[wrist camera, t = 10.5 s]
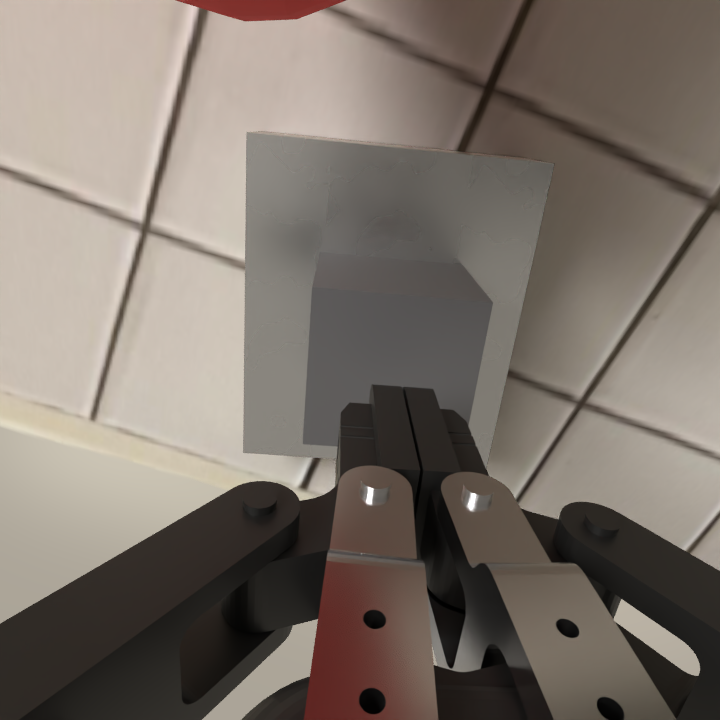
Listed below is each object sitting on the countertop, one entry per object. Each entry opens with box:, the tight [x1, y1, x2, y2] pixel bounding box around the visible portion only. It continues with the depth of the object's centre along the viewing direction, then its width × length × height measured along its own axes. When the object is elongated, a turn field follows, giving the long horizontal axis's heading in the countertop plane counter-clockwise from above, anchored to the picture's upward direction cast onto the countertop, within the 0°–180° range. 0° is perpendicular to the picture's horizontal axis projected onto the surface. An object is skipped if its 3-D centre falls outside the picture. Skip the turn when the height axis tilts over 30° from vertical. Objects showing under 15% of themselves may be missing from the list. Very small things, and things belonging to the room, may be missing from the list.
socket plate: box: [243, 131, 554, 468], centre depth 21 cm, size 10×12×4 cm
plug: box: [303, 252, 493, 447], centre depth 19 cm, size 5×5×7 cm
